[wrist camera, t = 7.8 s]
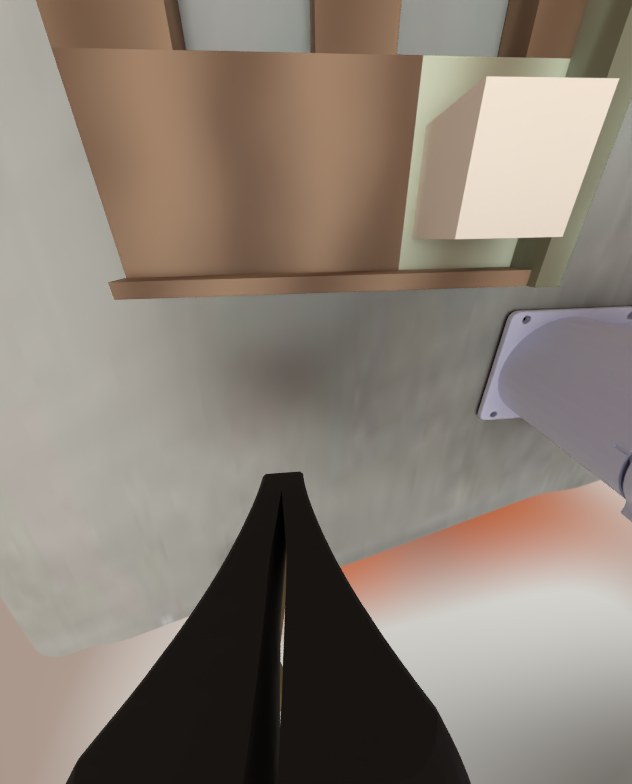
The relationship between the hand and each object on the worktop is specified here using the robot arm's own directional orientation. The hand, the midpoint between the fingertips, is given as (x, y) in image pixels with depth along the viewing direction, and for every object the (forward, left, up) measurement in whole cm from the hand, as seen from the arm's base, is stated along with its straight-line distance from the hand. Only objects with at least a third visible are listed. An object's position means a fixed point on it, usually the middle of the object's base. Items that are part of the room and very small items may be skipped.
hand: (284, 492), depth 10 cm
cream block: (-8, -10, -7) cm, 15 cm away
